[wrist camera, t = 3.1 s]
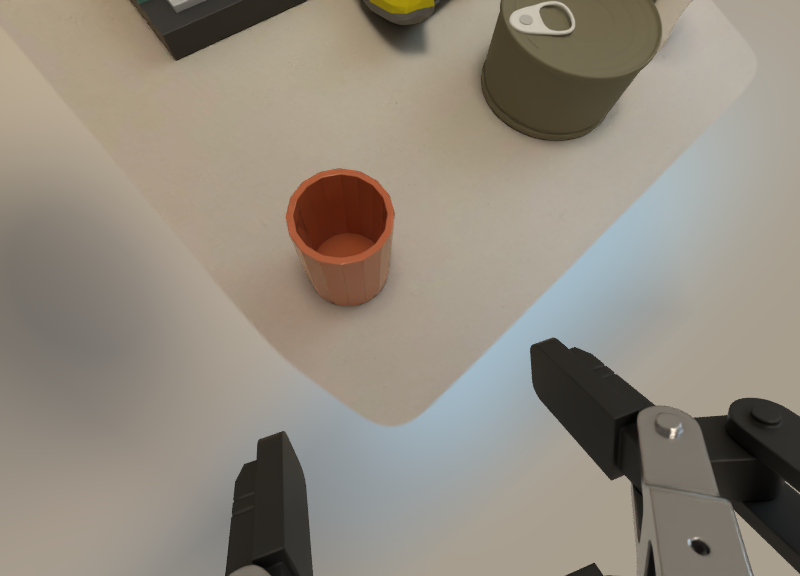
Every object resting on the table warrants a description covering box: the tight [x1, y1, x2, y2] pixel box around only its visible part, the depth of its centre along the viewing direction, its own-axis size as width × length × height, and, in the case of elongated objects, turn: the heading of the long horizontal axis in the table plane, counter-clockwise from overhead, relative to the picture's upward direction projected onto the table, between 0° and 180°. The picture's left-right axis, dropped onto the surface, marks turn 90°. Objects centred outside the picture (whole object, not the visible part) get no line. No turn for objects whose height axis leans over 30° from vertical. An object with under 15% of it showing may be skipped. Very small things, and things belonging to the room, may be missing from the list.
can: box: [481, 0, 662, 140], centre depth 33 cm, size 12×12×7 cm
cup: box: [286, 169, 395, 306], centre depth 26 cm, size 6×6×8 cm
